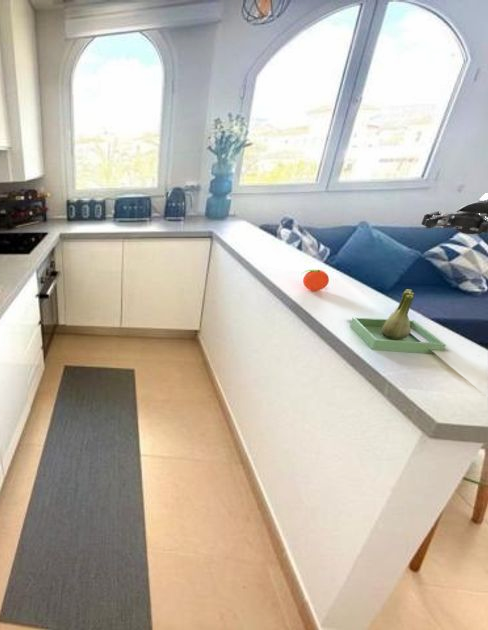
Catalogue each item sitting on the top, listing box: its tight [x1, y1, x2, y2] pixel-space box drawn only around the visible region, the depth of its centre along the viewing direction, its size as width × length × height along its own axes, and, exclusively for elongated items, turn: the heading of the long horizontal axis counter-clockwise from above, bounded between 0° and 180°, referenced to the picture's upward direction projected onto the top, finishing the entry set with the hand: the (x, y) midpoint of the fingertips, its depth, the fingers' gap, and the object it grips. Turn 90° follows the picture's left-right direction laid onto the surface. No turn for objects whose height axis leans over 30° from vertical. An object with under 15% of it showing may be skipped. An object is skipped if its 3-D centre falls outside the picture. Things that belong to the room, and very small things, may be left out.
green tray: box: [349, 316, 447, 355], centre depth 84 cm, size 13×12×3 cm
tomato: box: [302, 269, 330, 292], centre depth 113 cm, size 8×7×7 cm
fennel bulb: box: [382, 288, 415, 339], centre depth 82 cm, size 6×5×12 cm
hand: (454, 226), depth 78 cm, fingers open, 8 cm apart
